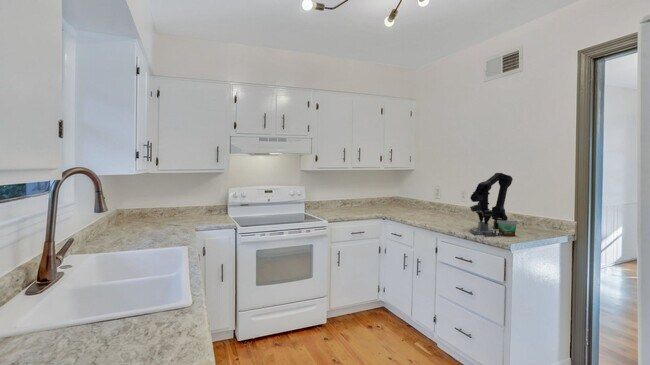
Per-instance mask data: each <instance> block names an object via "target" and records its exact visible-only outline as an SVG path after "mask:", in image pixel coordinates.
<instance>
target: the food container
mask: <svg viewBox="0 0 650 365" xmlns="http://www.w3.org/2000/svg"><path fill="white" fill-rule="evenodd" d="M497 223H498V229H497V230H498V233H500V236H501V237H502V236H503V237H515V235H516V231H517V225H518V224H519V223H518V220H517V219H516V220H506V221H502V220H498V221H497Z"/></svg>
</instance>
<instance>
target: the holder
mask: <svg viewBox="0 0 650 365" xmlns="http://www.w3.org/2000/svg"><path fill="white" fill-rule="evenodd" d="M491 230H492V229H489V228H488V229H486V231H479V230H478V231H477V230H475V229H473V228H470V233H471V234H472V235H474V236H482V235H483V232H485V233H486V235H493V233H494V230H493V231H491Z"/></svg>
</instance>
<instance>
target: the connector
mask: <svg viewBox="0 0 650 365" xmlns="http://www.w3.org/2000/svg"><path fill="white" fill-rule="evenodd" d="M486 229H489V222H488V223H487V224H485V223H484V221H482V222H480V221H478V222H477V230H478V231H486Z"/></svg>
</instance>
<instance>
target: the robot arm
mask: <svg viewBox="0 0 650 365" xmlns="http://www.w3.org/2000/svg"><path fill="white" fill-rule="evenodd" d="M496 183H498V185H499V190H498V195H497V198H496V199H497V200H496V204H495V206H492V207H491V210H490V208H489V205H490V202H489V195H491V193H490V192H489V191H490V190H491V189H492V186H493V185H494V184H496ZM512 183H513V177H512V176H511V175H509V174H506V173H503V172H495V173H494V174H493V175H492V176H490V177H489V178H488V179H486V180H484V181H482V182H480V183H478V184H477V186H476V188H475V190H474V191H473V192H472V194H470V201H471V202H473V203H477V204H474V205H471V206H469V208H470V211H471V212H473V213H474V212H475V213H476V214H477V215H478V220H479V222H484V223H485V224H487V223H488V224H489V220H490V219H492V220H493V226H492V228H494V229H497V230H498V223H497V221H498V220H502V221H508V216H507V214H506V209H505V207H504V206H505V202H506V197H507V194H508V188H509V187H510V186H511V185H512Z"/></svg>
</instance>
